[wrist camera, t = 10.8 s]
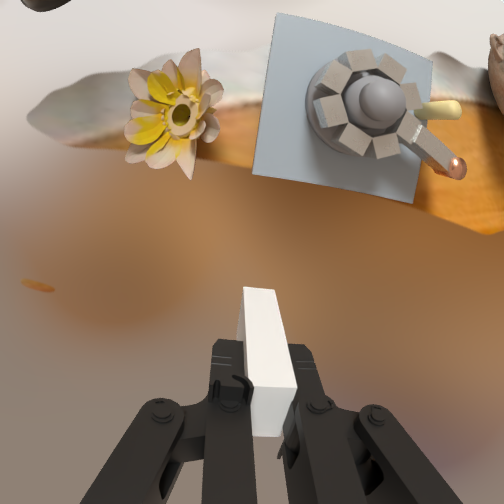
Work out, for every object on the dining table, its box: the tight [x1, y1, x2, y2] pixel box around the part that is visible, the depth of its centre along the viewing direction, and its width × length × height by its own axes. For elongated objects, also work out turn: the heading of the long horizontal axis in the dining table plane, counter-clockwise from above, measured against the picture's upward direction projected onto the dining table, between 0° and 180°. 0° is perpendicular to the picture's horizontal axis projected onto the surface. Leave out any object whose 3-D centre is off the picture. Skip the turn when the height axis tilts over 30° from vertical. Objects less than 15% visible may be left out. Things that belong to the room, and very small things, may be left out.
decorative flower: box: [124, 48, 224, 180], centre depth 31 cm, size 15×11×10 cm
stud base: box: [252, 13, 462, 204], centre depth 31 cm, size 22×23×11 cm
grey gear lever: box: [313, 49, 467, 180], centre depth 30 cm, size 21×12×4 cm, turn 63°
